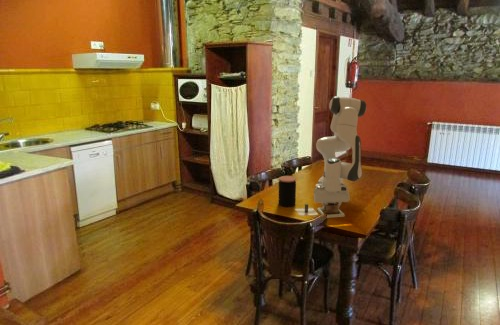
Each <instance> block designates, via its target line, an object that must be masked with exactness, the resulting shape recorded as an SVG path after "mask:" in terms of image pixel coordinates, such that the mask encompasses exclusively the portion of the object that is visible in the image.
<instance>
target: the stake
mask: <svg viewBox="0 0 500 325" xmlns="http://www.w3.org/2000/svg"><path fill="white" fill-rule="evenodd" d="M294 210H295V211H296V213H297V214H298V215H299V217H305V216H306V217H307V216H317V215H319V214H320V213H319V212H318V211H317V210H315V209H314V207H309V204H308V203H304V207H301V208H300V207H299V208H294Z"/></svg>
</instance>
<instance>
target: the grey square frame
mask: <svg viewBox="0 0 500 325" xmlns="http://www.w3.org/2000/svg"><path fill="white" fill-rule="evenodd" d="M316 209H317V210H316V212H317V213H318V214H320V215H321V216H322V214H325V213H324V212H323V211H325V209H323V206H322V207H317V208H316ZM326 215H327V218H326V219H330V218H341V217H343V218H344V217H345V213H344V212H343V211H342V210H341V209H340V208H339V209H338V213H330V214H326Z"/></svg>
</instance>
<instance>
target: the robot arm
mask: <svg viewBox="0 0 500 325" xmlns="http://www.w3.org/2000/svg"><path fill="white" fill-rule="evenodd" d="M328 106H329V107H328V108H329V111H330V113H331V114H333V115H332V119H331V123H330V127H329V128H330V130H331V132H333V133H334V135H332V136H324V137H321V138H319V139H317V141H316V143H315V147H316V151H317V152H319V153H320V154H321V155H322V158H323V160H324V162H323V163H324V170H323V173H322V176H321V177H320V178H319V180H318V181H317V183H316V184H315V187H314V188H313V193H314V194H313V201H314V202H315V203H318V204H319V203H321V205H322V207H323V209H326V206H324V202H335V203H338V204H337V205H338V209H339V210H340V207H341V205H342V203H349V202H350V192H349V187H348V185H347V184H345V183H343V182H344V180H347V181H350V182H357V181H358V180H359V179H361V177H362V174H363V173H362V171H363V169H362V141H361V137H360V136H359V135H358V132H357V129H358V128H357V127H358V120H359V118H361V117H363V116H364V115H365V113H366V112H367V103H366V101H365V100H363V99H357V98H354V97H347V96H346V97H345V96H332V98H331V100H330V101H329V104H328ZM351 148H352V150H351V151H352V153H351V154H352V158H351V160H352V161H351V162H352V163H350V162H344V161H341V159H340V158H338V157H337V156H336V153H342V152H343V153H344V152H346V151H349V150H350V149H351Z"/></svg>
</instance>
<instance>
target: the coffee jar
mask: <svg viewBox="0 0 500 325" xmlns="http://www.w3.org/2000/svg"><path fill="white" fill-rule="evenodd" d="M278 180H279V181H278V206H280V207H283V208H292V207H295V206H296V201H297V200H296V198H297V197H296V196H297V193H296V192H297V182H296V180H297V177H295V176H292V175H291V176H290V175H283V176H282V175H281V176H279V177H278Z"/></svg>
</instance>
